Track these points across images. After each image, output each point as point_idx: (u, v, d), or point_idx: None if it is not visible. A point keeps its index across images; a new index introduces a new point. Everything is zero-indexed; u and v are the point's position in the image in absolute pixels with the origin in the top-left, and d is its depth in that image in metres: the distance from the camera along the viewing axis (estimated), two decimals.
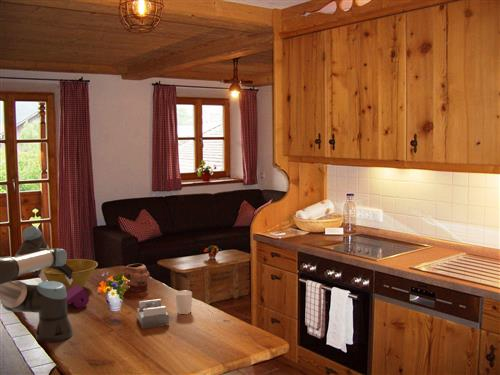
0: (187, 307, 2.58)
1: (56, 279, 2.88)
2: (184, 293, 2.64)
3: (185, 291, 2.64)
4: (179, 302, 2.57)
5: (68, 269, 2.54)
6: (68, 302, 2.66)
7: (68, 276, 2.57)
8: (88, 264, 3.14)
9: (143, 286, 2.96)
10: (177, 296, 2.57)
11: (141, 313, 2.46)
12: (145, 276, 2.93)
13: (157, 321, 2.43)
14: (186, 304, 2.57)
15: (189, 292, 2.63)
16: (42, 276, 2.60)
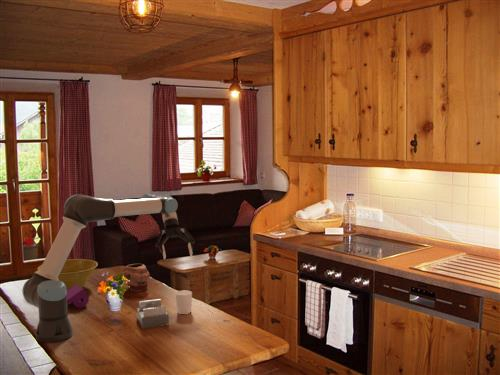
0: (187, 307, 2.58)
1: None
2: (184, 293, 2.64)
3: (185, 291, 2.64)
4: (179, 302, 2.57)
5: None
6: (68, 302, 2.66)
7: (191, 244, 2.74)
8: (88, 264, 3.14)
9: (143, 286, 2.96)
10: (177, 296, 2.57)
11: (141, 313, 2.46)
12: (145, 276, 2.93)
13: (157, 321, 2.43)
14: (186, 304, 2.57)
15: (189, 292, 2.63)
16: None
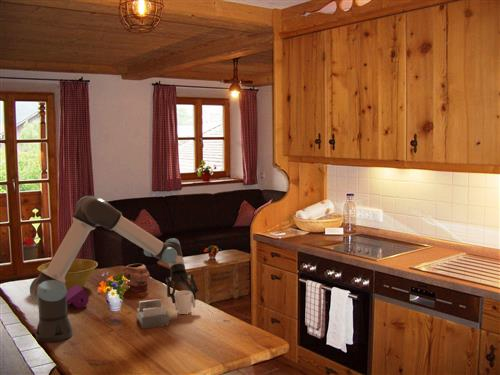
0: (187, 307, 2.58)
1: None
2: (184, 293, 2.64)
3: (185, 291, 2.64)
4: (179, 302, 2.57)
5: None
6: (68, 302, 2.66)
7: (193, 295, 2.62)
8: (88, 264, 3.14)
9: (143, 286, 2.96)
10: (177, 296, 2.57)
11: (141, 313, 2.46)
12: (145, 276, 2.93)
13: (157, 321, 2.43)
14: (186, 304, 2.57)
15: (189, 292, 2.63)
16: None
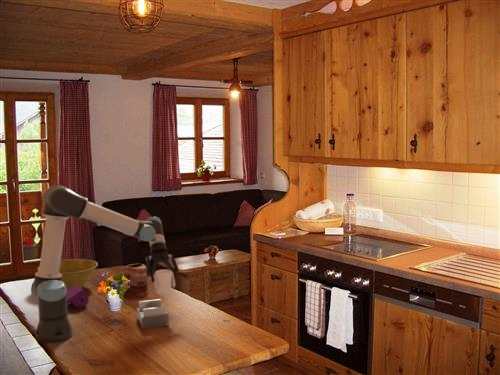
0: (167, 286, 2.49)
1: None
2: (164, 272, 2.55)
3: (165, 270, 2.55)
4: (158, 281, 2.48)
5: None
6: (68, 302, 2.66)
7: (174, 274, 2.53)
8: (88, 264, 3.14)
9: (143, 286, 2.96)
10: (156, 275, 2.48)
11: (141, 313, 2.46)
12: (145, 276, 2.93)
13: (157, 321, 2.43)
14: (166, 283, 2.48)
15: (169, 271, 2.54)
16: None
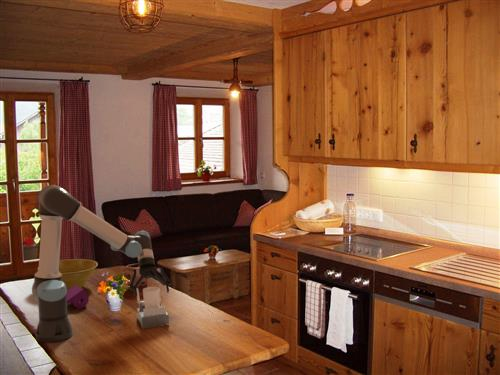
0: (155, 304, 2.45)
1: None
2: (152, 290, 2.51)
3: (153, 287, 2.51)
4: (146, 299, 2.45)
5: None
6: (68, 302, 2.66)
7: (166, 287, 2.51)
8: (88, 264, 3.14)
9: (143, 286, 2.96)
10: (144, 293, 2.45)
11: (141, 313, 2.46)
12: None
13: (157, 321, 2.43)
14: (154, 301, 2.45)
15: (157, 288, 2.50)
16: (138, 293, 2.46)
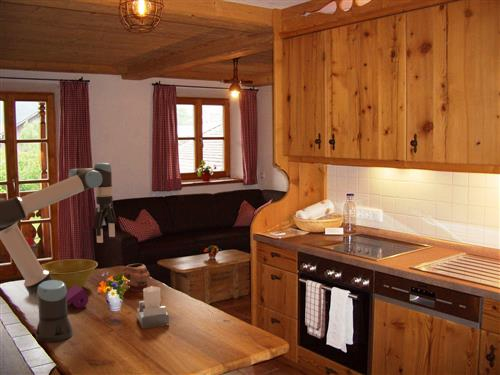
0: (155, 304, 2.45)
1: (56, 279, 2.88)
2: (153, 290, 2.51)
3: (154, 287, 2.51)
4: (146, 299, 2.45)
5: None
6: (67, 302, 2.66)
7: (113, 225, 2.64)
8: (88, 264, 3.14)
9: (143, 286, 2.96)
10: (144, 293, 2.45)
11: (141, 313, 2.46)
12: (145, 276, 2.93)
13: (157, 321, 2.43)
14: (154, 301, 2.45)
15: (158, 288, 2.50)
16: None
